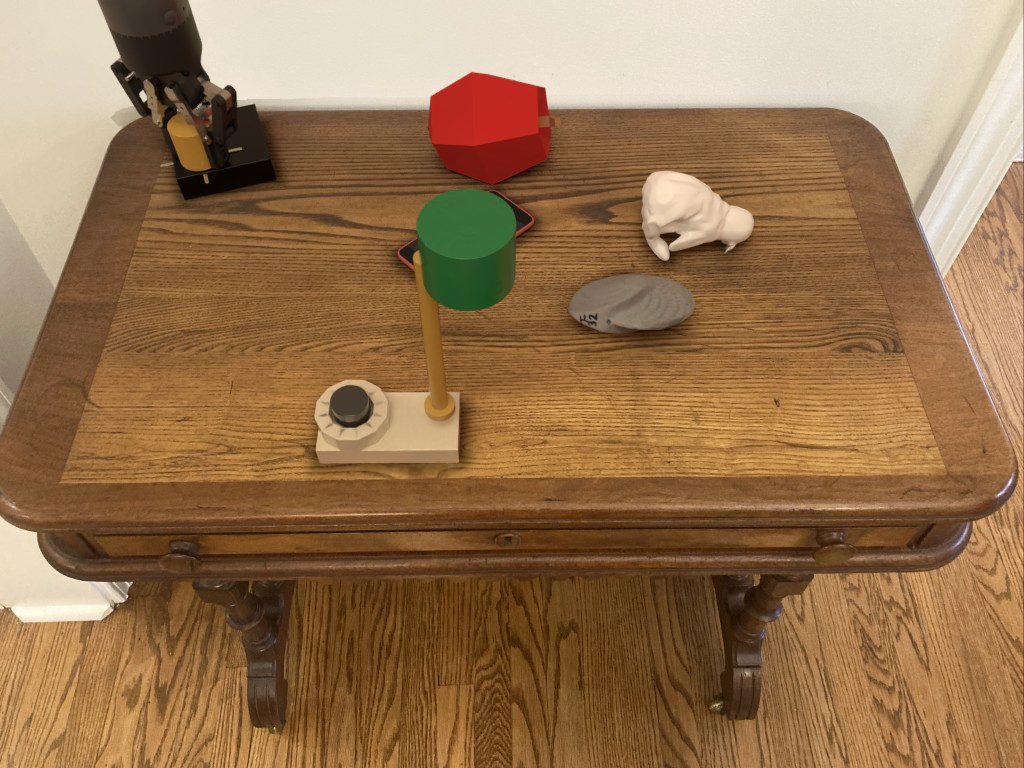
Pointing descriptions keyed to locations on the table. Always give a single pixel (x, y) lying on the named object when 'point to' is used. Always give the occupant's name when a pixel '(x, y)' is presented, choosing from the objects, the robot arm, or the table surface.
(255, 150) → the panel
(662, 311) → the seashell
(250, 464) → the table surface
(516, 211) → the smartphone
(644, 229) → the cream figurine
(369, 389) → the lamp base
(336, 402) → the lamp switch
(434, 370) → the lamp
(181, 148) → the dimmer knob
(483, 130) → the apple
